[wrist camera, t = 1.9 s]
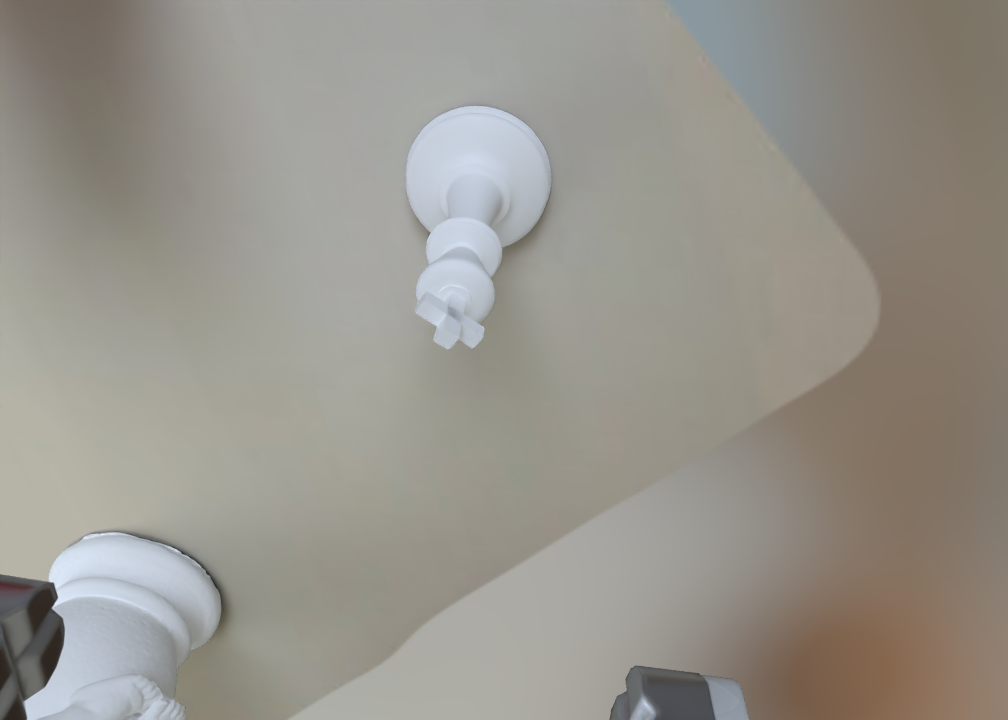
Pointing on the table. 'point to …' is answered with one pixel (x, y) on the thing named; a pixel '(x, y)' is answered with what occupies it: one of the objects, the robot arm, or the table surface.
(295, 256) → the table surface
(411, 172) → the chess piece
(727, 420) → the table surface
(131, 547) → the cherub figurine
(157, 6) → the table surface
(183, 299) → the table surface
